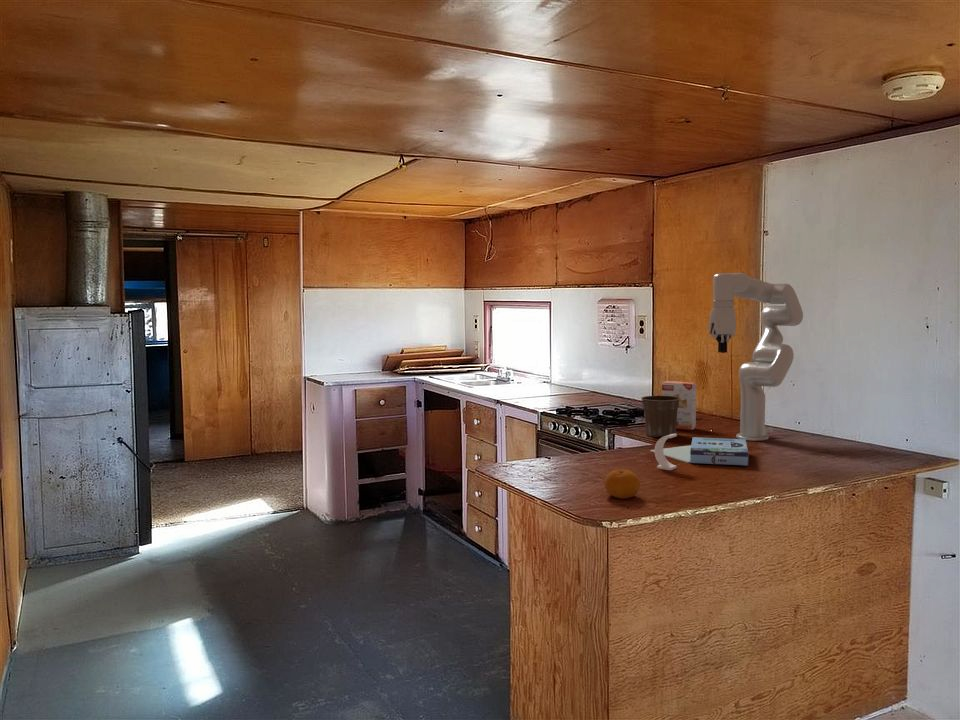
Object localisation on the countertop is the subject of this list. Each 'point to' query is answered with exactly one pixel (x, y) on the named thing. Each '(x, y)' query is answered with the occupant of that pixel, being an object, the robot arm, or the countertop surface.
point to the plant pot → (660, 415)
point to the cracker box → (683, 402)
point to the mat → (678, 453)
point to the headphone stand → (660, 454)
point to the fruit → (622, 483)
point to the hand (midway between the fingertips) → (722, 352)
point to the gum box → (719, 451)
